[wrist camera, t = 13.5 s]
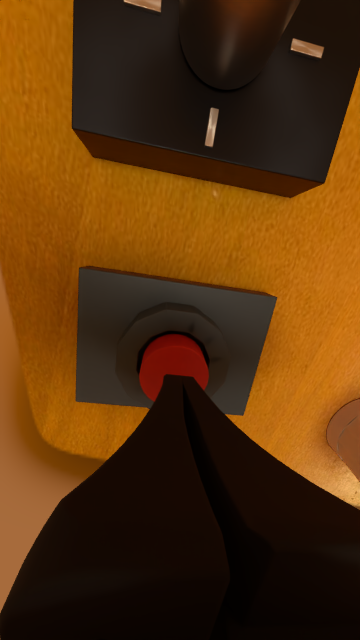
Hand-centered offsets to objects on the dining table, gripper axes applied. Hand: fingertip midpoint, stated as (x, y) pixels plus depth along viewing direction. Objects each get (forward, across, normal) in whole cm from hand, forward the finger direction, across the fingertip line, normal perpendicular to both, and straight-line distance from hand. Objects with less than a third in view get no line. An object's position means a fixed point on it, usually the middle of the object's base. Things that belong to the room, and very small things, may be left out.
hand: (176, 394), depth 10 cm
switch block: (+6, 0, 0) cm, 6 cm away
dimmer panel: (+6, 0, -15) cm, 16 cm away
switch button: (+3, 0, 0) cm, 3 cm away
